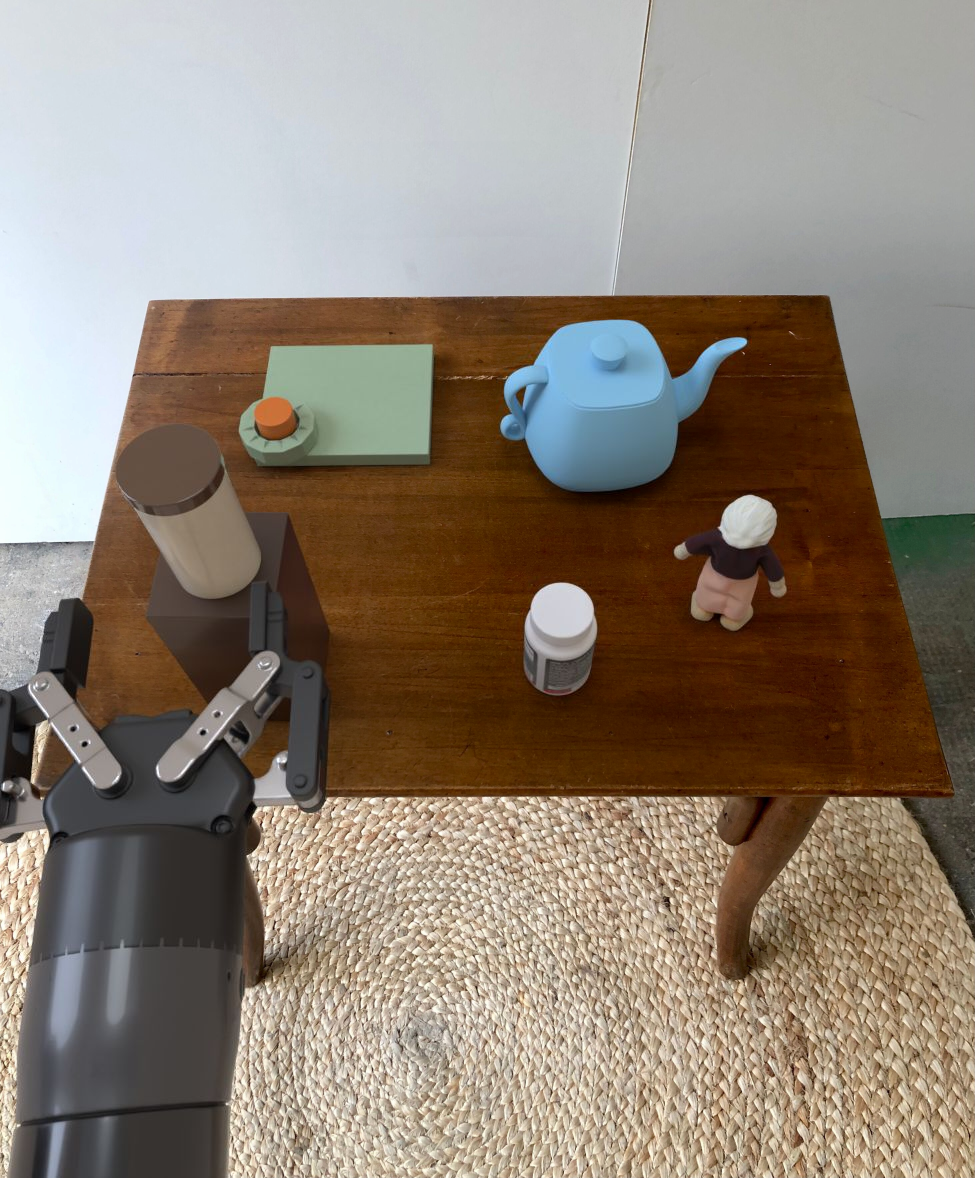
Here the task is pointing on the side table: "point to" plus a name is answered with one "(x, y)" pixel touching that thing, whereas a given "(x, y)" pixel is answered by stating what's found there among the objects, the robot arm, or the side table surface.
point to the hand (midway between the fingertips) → (170, 597)
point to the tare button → (275, 418)
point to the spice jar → (190, 508)
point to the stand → (240, 614)
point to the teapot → (605, 404)
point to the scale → (348, 406)
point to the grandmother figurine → (735, 562)
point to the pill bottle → (559, 639)
